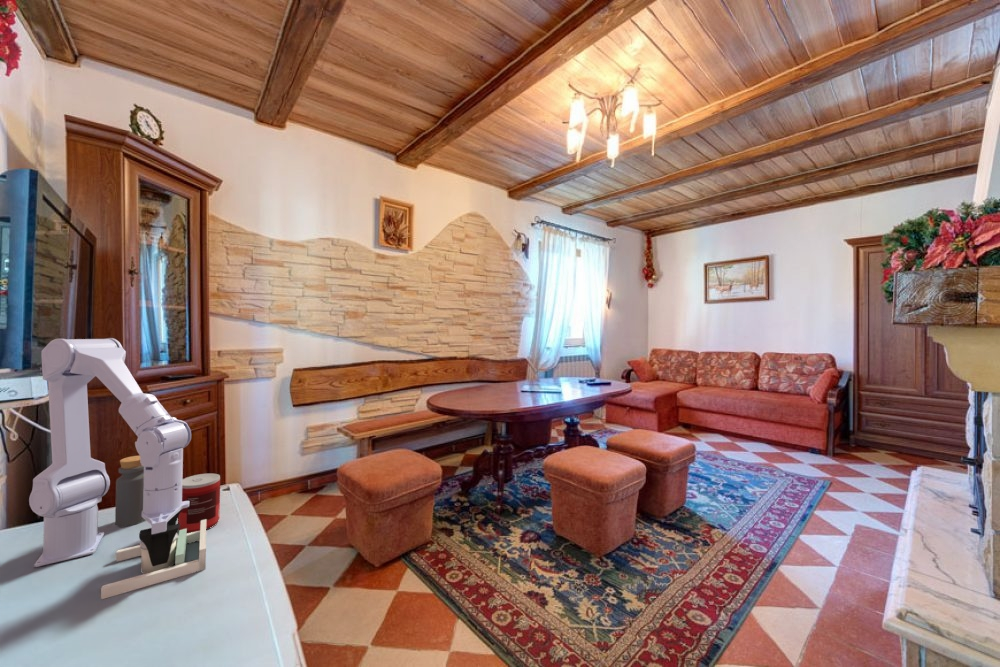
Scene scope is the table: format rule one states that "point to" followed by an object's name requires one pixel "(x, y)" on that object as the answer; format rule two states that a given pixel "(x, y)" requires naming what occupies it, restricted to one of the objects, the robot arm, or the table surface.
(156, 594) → the table surface
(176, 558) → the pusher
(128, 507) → the bottle
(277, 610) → the table surface
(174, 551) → the jar
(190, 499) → the canned food
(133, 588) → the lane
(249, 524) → the table surface
